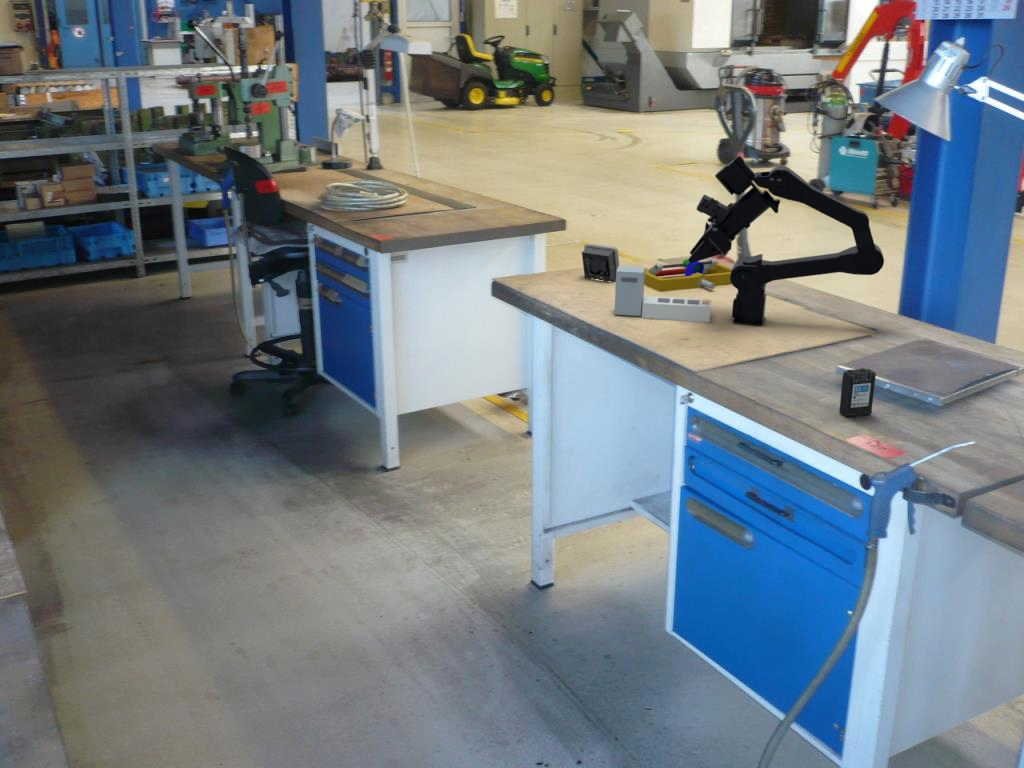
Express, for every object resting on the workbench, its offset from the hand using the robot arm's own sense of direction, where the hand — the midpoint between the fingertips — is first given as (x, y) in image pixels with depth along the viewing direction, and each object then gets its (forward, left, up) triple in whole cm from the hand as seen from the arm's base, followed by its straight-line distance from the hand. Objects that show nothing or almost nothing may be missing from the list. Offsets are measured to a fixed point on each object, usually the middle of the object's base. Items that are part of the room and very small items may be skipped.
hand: (690, 257), depth 237 cm
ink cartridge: (-39, +51, -14) cm, 66 cm away
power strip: (+3, -5, -14) cm, 15 cm away
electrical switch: (+27, -27, -14) cm, 41 cm away
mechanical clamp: (+6, -31, -14) cm, 35 cm away
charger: (+12, +2, -13) cm, 18 cm away
